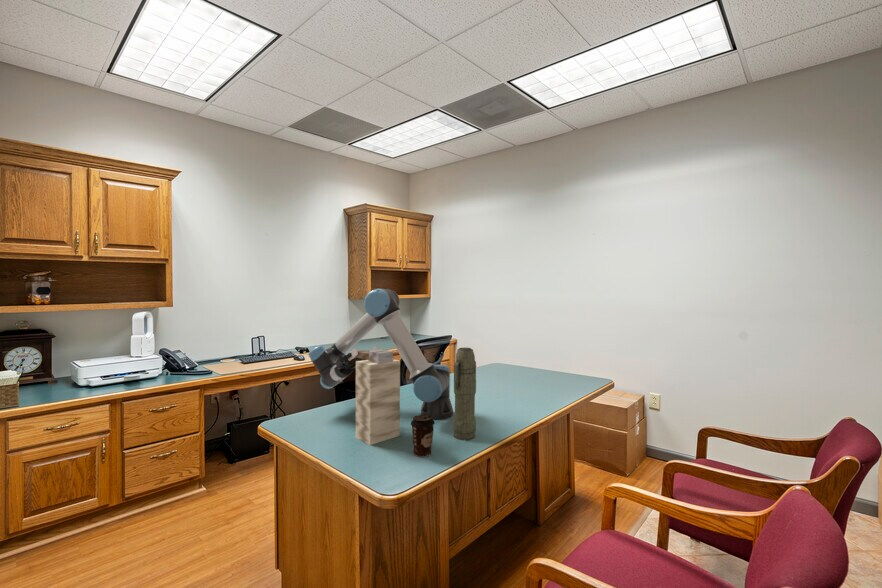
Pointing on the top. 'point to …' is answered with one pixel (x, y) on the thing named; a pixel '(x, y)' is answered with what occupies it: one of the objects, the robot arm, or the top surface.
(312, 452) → the top surface
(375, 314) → the robot arm
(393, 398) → the pedestal
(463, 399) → the thermos
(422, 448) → the coffee cup
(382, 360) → the hammer
